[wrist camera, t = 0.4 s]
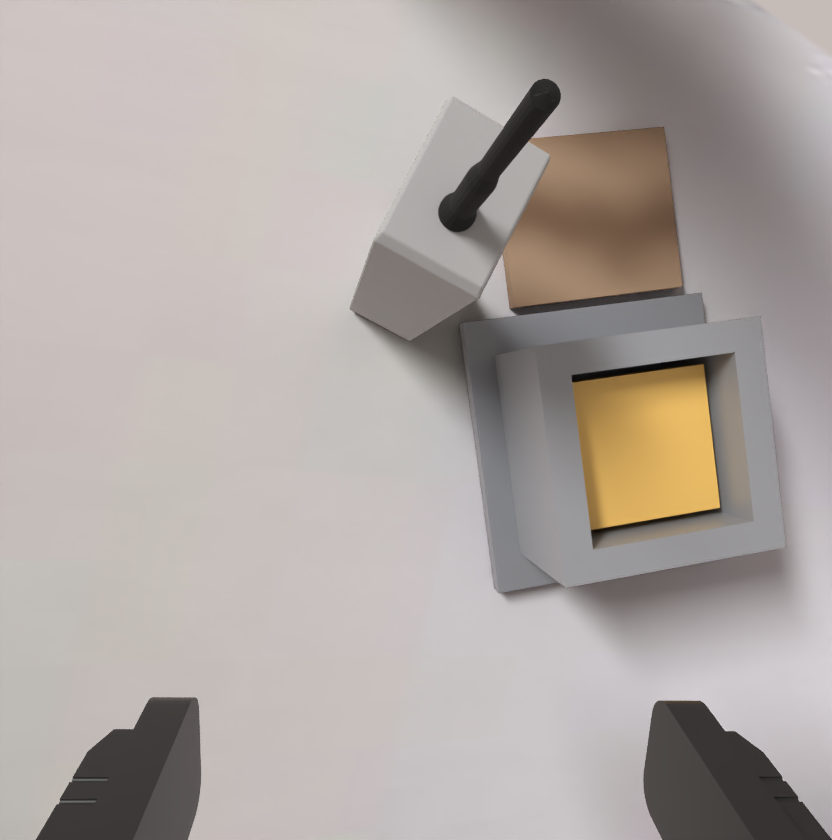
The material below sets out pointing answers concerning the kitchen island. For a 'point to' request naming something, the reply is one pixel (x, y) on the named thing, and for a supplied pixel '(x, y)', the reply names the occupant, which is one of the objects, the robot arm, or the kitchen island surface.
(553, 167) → the walnut pad
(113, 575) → the kitchen island surface
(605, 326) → the box
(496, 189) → the vintage mobile phone
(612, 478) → the amber button
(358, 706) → the kitchen island surface
